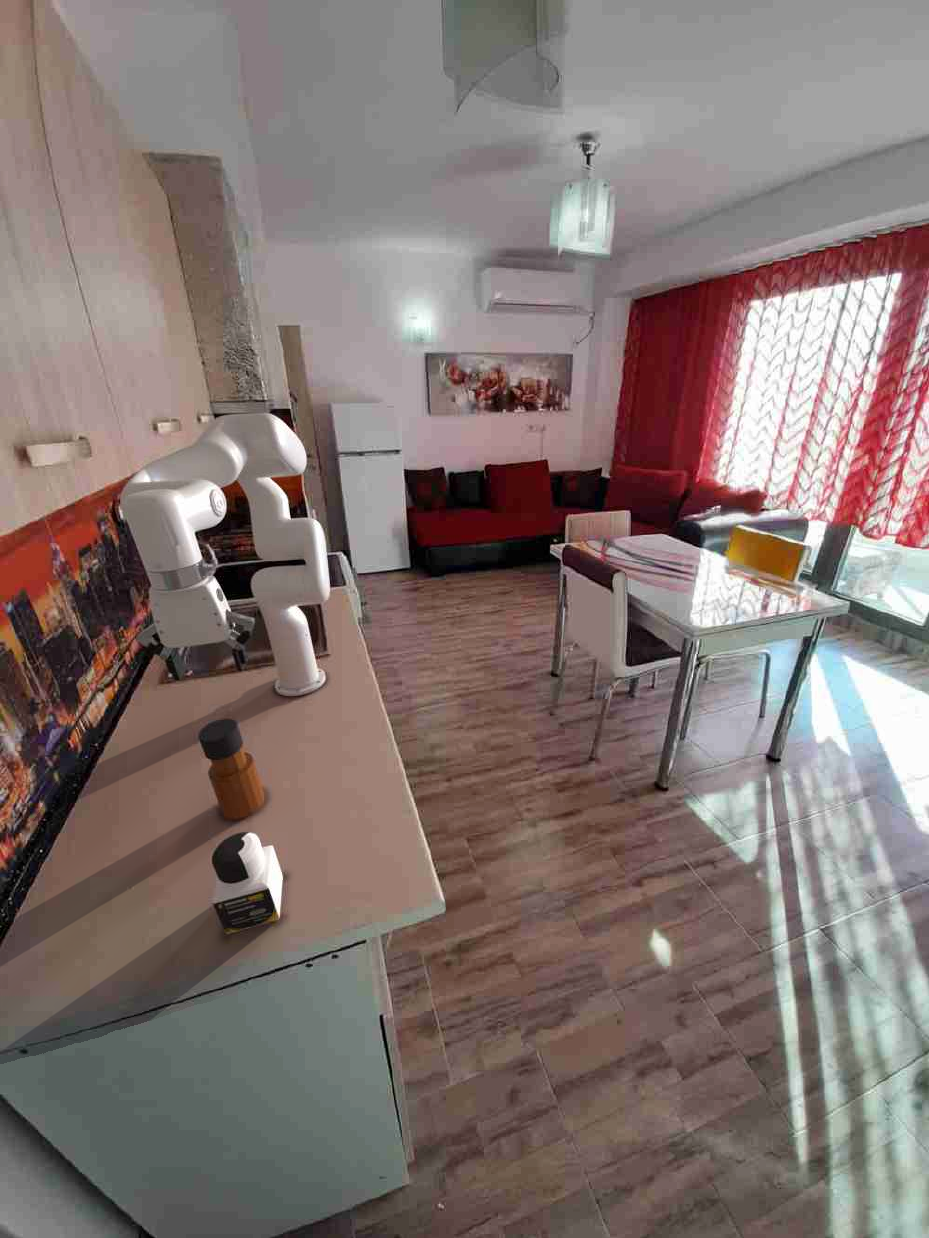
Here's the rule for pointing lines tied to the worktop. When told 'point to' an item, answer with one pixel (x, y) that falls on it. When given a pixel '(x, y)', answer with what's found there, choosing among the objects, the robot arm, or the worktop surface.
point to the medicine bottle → (246, 883)
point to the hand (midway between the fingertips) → (211, 671)
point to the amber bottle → (236, 785)
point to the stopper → (220, 739)
